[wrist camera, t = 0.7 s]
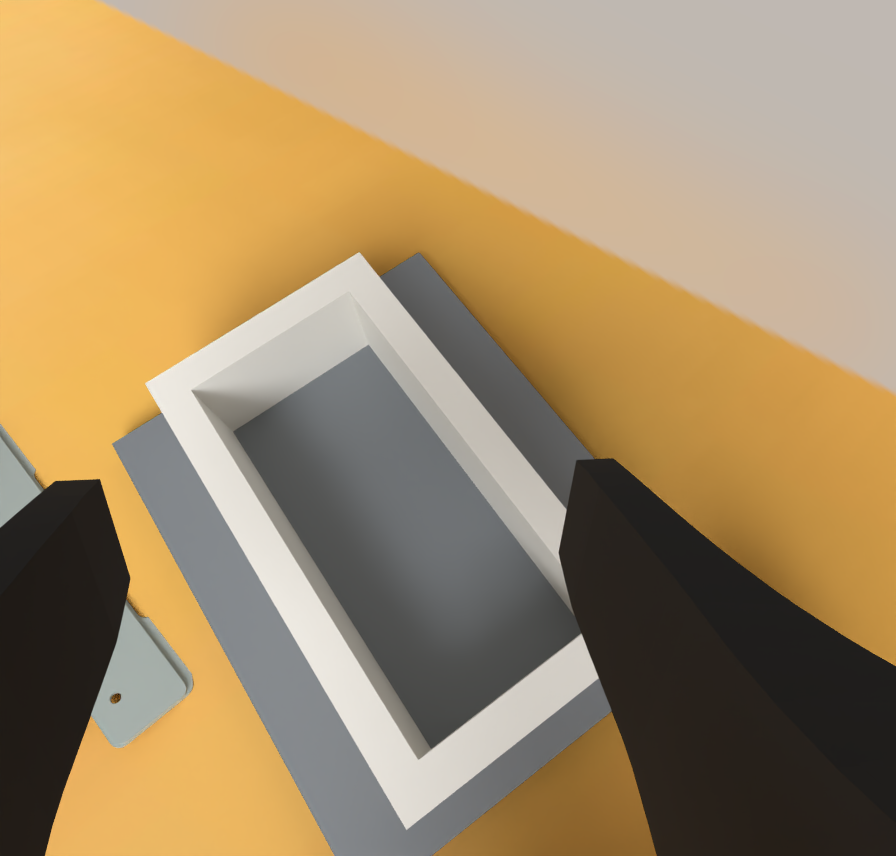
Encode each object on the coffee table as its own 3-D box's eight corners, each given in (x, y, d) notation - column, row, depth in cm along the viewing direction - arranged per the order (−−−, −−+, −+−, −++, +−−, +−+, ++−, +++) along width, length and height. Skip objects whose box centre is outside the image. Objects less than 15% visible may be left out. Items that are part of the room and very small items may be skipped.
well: (720, 620, 24) (773, 602, 19) (369, 900, 22) (335, 957, 17) (421, 265, 30) (408, 188, 26) (124, 452, 28) (51, 404, 23)
